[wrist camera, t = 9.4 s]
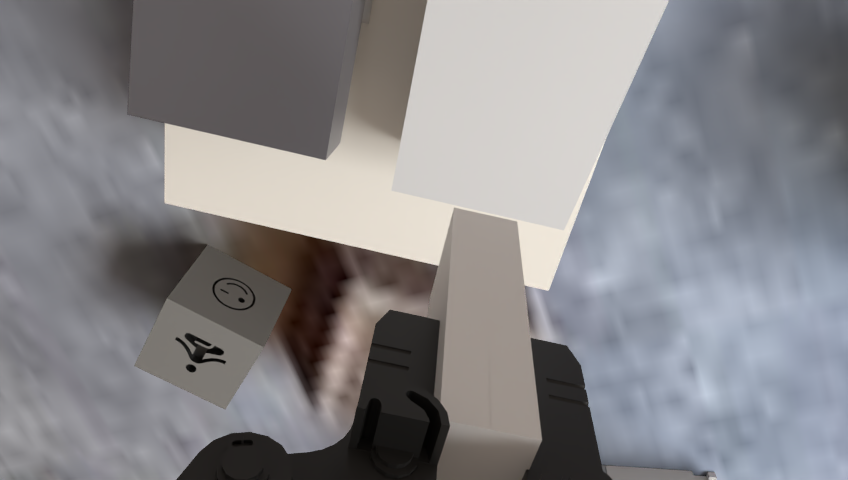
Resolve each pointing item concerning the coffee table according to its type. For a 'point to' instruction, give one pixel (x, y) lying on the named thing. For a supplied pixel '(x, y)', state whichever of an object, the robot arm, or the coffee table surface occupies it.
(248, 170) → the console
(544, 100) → the block
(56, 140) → the coffee table surface
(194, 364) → the dice cube
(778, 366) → the coffee table surface
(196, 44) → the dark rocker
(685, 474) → the circuit breaker
